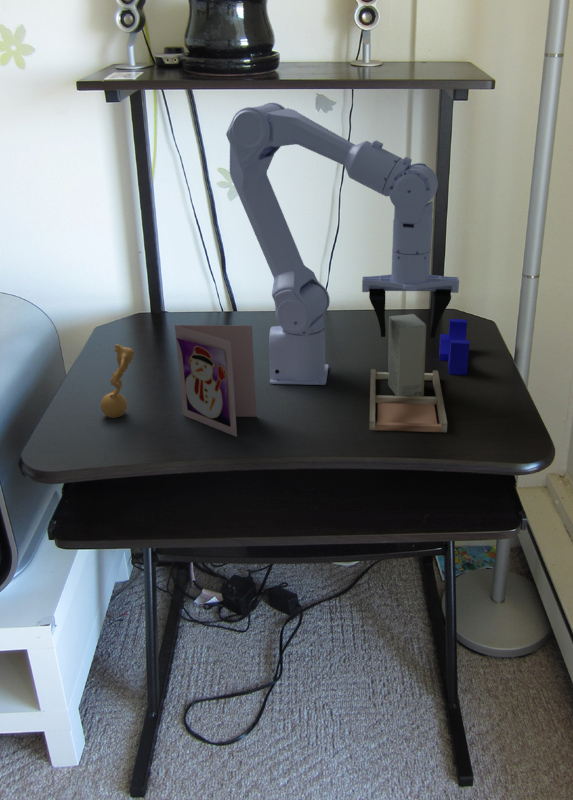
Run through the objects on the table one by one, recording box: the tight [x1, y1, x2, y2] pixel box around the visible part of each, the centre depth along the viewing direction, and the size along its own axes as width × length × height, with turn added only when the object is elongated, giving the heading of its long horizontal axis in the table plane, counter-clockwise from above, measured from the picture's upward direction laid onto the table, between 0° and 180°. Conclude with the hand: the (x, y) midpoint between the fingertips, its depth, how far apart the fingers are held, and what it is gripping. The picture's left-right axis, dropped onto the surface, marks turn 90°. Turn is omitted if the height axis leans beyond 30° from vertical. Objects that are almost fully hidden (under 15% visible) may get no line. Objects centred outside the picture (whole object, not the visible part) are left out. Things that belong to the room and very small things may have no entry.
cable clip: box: [438, 318, 470, 376], centre depth 130 cm, size 12×4×6 cm, turn 170°
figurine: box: [100, 343, 135, 419], centre depth 112 cm, size 8×6×12 cm
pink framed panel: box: [368, 368, 448, 433], centre depth 116 cm, size 11×19×2 cm, turn 174°
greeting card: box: [174, 324, 257, 438], centre depth 109 cm, size 11×7×15 cm, turn 50°
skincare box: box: [387, 313, 427, 396], centre depth 118 cm, size 6×4×12 cm
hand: (407, 335), depth 116 cm, fingers open, 7 cm apart
